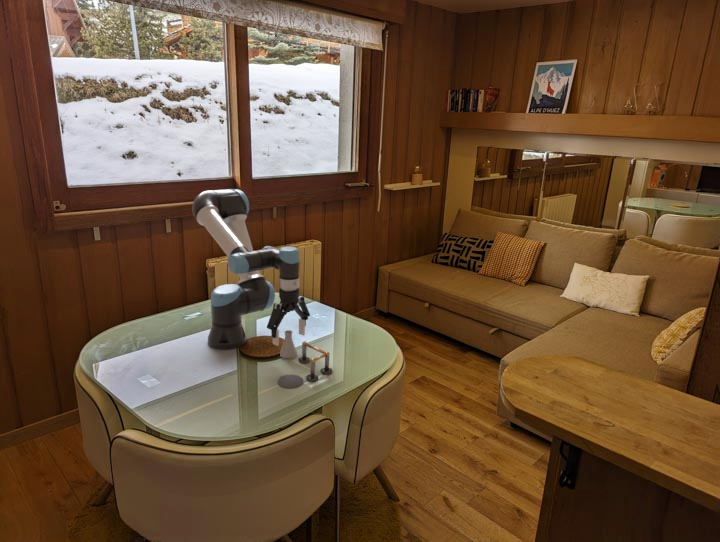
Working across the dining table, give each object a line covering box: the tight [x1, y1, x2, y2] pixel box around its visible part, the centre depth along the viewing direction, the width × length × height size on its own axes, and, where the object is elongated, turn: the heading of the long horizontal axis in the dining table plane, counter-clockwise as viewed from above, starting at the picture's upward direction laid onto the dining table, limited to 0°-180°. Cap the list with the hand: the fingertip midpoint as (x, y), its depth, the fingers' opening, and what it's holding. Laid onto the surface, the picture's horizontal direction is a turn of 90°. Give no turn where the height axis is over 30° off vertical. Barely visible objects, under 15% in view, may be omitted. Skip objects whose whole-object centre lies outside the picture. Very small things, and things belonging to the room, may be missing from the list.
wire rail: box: [298, 340, 333, 383], centre depth 184 cm, size 16×12×8 cm
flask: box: [279, 329, 298, 359], centre depth 194 cm, size 7×7×10 cm
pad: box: [277, 374, 304, 389], centre depth 176 cm, size 9×9×1 cm
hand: (289, 339), depth 193 cm, fingers open, 13 cm apart
